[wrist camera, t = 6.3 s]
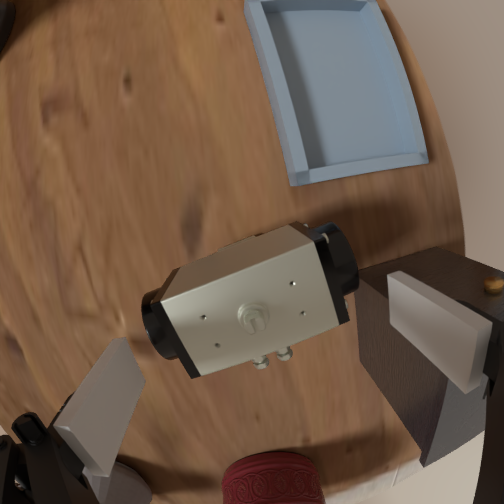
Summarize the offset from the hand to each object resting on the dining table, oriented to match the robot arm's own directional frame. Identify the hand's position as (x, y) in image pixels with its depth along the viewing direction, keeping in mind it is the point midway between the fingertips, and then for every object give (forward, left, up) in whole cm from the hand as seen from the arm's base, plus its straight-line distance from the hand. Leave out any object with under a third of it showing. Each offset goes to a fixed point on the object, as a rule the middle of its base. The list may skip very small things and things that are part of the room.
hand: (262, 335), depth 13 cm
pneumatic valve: (0, 0, -12) cm, 12 cm away
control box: (+8, +14, -12) cm, 20 cm away
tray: (-14, +11, -12) cm, 21 cm away
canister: (+30, -4, -12) cm, 32 cm away
